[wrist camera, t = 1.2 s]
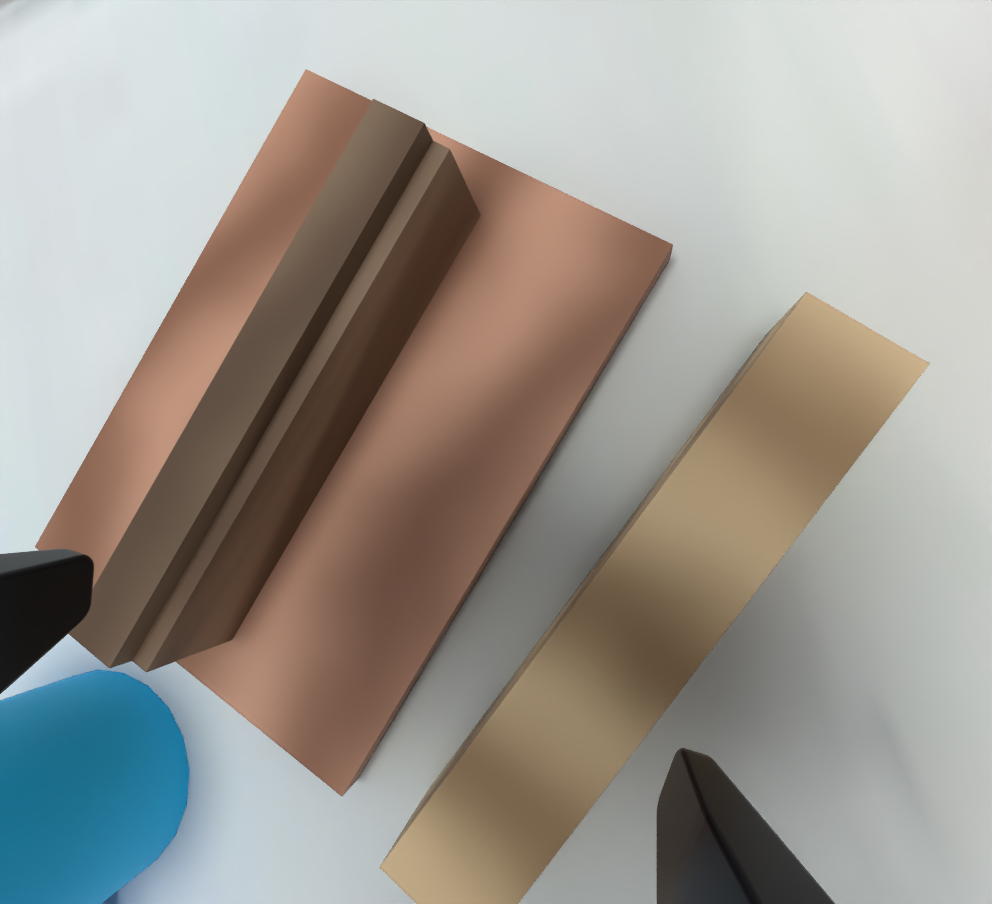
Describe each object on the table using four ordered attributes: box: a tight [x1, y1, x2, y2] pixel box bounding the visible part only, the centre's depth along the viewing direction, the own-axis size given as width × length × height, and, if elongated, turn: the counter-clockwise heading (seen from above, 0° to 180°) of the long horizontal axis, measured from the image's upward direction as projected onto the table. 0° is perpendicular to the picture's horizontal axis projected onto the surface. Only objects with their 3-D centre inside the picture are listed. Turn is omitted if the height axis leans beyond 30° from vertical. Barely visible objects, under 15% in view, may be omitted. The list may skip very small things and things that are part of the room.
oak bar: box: [380, 292, 930, 904], centre depth 18 cm, size 20×4×4 cm, turn 143°
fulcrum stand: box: [35, 70, 673, 796], centre depth 19 cm, size 16×22×6 cm
